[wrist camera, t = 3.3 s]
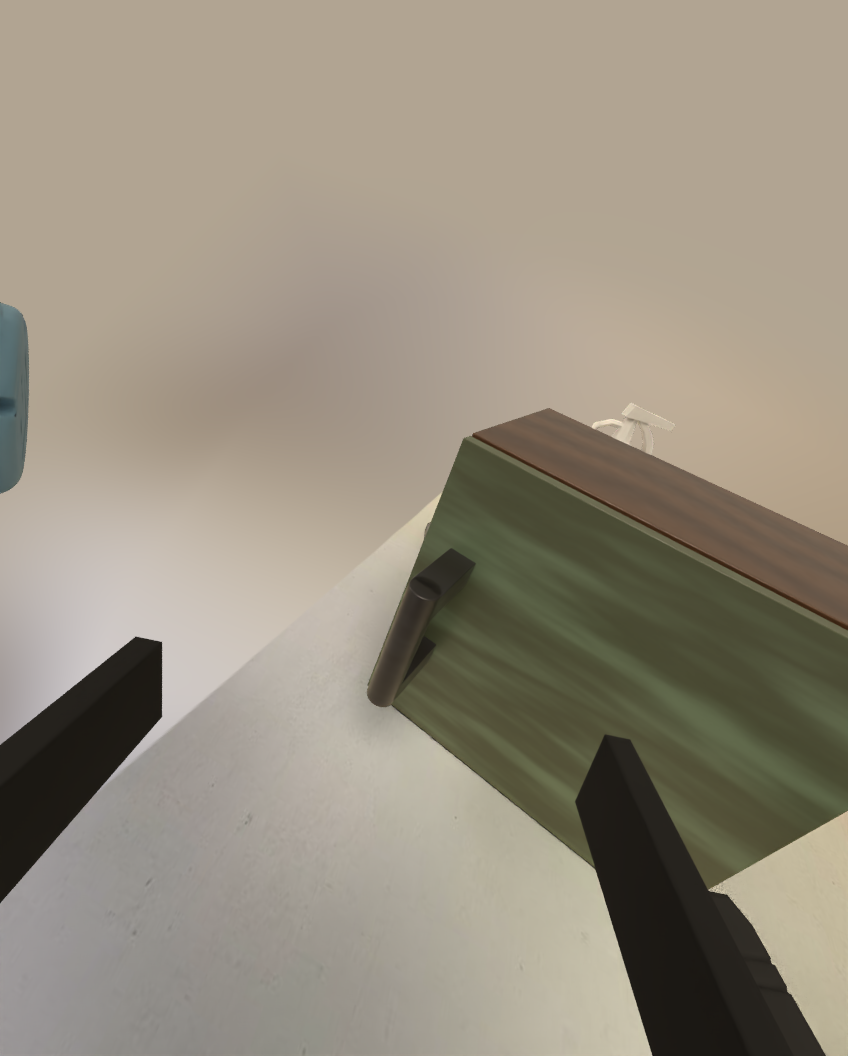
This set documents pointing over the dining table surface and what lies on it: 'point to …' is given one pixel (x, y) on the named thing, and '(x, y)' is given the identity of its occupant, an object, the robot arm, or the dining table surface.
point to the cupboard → (684, 509)
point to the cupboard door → (615, 667)
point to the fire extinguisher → (628, 425)
